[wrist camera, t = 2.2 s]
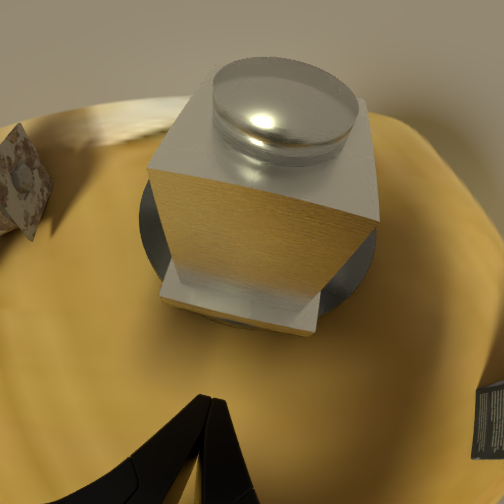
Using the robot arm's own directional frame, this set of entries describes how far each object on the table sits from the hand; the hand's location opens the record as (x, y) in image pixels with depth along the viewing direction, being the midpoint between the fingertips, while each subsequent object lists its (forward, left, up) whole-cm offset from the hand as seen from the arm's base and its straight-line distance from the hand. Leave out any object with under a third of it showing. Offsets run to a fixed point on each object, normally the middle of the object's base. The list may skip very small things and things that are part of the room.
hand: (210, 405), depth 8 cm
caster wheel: (+22, +8, -7) cm, 24 cm away
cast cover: (+5, -6, -5) cm, 9 cm away
